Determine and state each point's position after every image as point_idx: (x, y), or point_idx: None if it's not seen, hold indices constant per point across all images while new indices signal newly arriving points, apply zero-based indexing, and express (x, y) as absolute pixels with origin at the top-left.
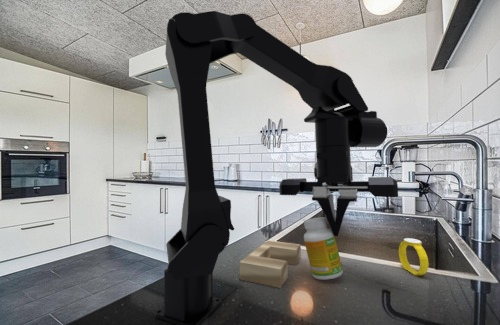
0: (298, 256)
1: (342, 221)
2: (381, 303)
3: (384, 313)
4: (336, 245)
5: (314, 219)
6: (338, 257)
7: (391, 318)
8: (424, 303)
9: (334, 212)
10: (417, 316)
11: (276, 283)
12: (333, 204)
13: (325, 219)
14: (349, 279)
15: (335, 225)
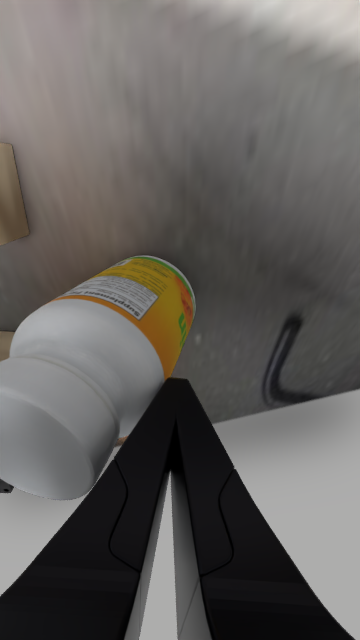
0: (8, 196)
1: (217, 435)
2: (263, 373)
3: (258, 399)
4: (176, 359)
5: (21, 453)
6: (183, 344)
7: (265, 408)
8: (355, 349)
9: (157, 510)
10: (312, 392)
11: None
12: (135, 603)
13: (100, 470)
14: (212, 287)
15: (171, 470)
